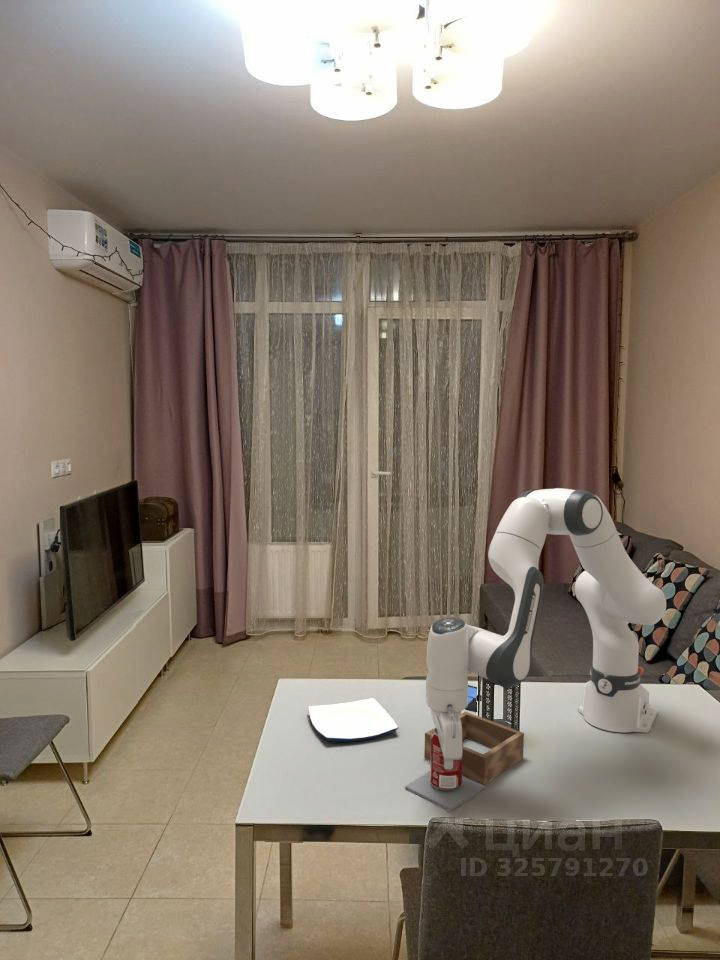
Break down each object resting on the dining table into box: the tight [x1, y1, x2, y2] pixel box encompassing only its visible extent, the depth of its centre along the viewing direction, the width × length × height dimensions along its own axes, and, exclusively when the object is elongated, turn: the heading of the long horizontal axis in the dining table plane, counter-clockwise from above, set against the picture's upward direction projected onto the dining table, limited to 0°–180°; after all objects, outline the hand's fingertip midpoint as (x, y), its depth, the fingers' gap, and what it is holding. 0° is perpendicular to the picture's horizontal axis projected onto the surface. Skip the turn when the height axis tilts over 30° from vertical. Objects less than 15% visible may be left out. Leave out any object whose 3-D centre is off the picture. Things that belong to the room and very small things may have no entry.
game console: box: [465, 684, 477, 713], centre depth 193 cm, size 14×13×2 cm
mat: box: [404, 771, 485, 812], centre depth 147 cm, size 12×12×1 cm
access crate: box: [423, 711, 525, 785], centre depth 160 cm, size 16×16×6 cm
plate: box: [307, 697, 399, 742], centre depth 176 cm, size 20×20×3 cm
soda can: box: [429, 727, 464, 791], centre depth 146 cm, size 7×7×12 cm
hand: (445, 758), depth 146 cm, fingers open, 6 cm apart
